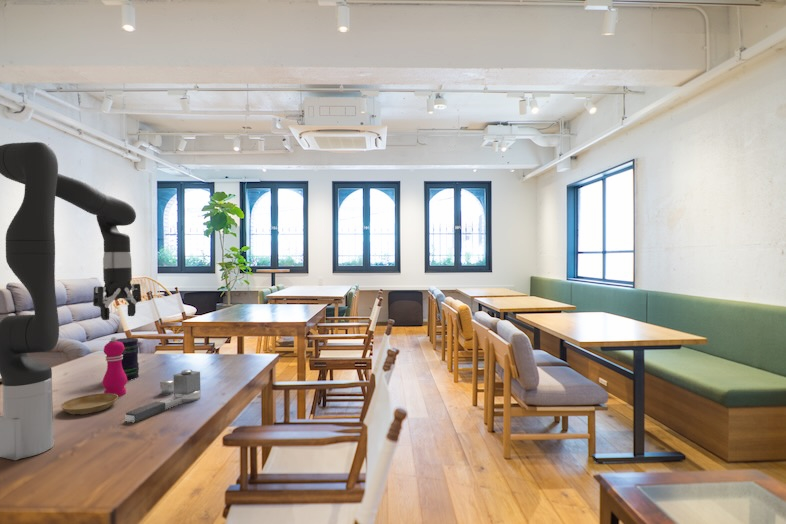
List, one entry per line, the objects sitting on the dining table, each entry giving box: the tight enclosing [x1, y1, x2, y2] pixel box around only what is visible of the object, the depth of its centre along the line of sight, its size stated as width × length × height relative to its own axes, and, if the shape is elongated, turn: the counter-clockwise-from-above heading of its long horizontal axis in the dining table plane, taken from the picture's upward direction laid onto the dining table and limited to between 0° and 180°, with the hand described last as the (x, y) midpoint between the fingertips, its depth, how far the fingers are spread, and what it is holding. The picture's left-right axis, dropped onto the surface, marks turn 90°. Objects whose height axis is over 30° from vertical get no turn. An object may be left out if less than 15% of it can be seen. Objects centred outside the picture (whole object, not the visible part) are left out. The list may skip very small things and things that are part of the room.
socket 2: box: [173, 369, 201, 395], centre depth 142 cm, size 6×6×7 cm
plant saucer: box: [60, 392, 119, 415], centre depth 134 cm, size 15×15×3 cm
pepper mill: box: [101, 336, 128, 397], centre depth 147 cm, size 7×7×20 cm
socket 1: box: [159, 379, 174, 396], centre depth 148 cm, size 4×4×4 cm
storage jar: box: [108, 337, 140, 381], centre depth 168 cm, size 10×10×15 cm
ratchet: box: [124, 388, 202, 424], centre depth 134 cm, size 25×8×6 cm, turn 160°
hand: (118, 317), depth 135 cm, fingers open, 8 cm apart
